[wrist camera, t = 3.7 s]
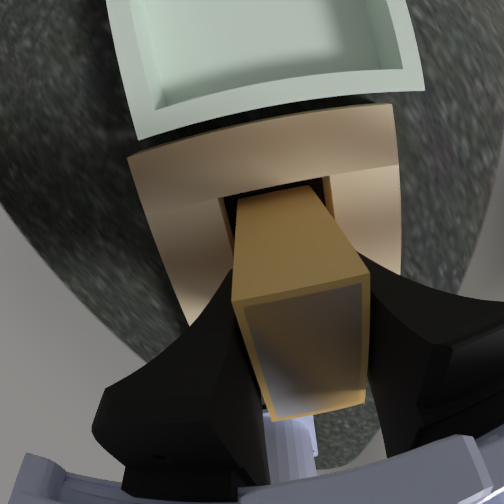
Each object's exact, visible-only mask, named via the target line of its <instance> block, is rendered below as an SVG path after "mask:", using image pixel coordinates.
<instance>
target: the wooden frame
mask: <svg viewBox="0 0 504 504" xmlns="http://www.w3.org/2000/svg"><path fill="white" fill-rule="evenodd" d="M127 160H128V164H129V167H130V170H131V173H132V176H133V180H134V183H135V186H136V189H137V192H138V195H139V198H140V201H141V204H142V207H143V209H144V212H145V215H146V218H147V221H148V224H149V226H150V229H151V232H152V235H153V237H154V240H155V243H156V246H157V248H158V251H159V253H160V256H161V259H162V261H163V264H164V266H165V269H166V271H167V274H168V276H169V279H170V281H171V284H172V286H173V289H174V291H175V294H176V296H177V298H178V301H179V303H180V306H181V308H182V310H183V313H184V315H185V317H186V319H187V322H188V324H189V326H190V325H191V324H192V323H193V322H194V321H195V320H196V319H197V317H198V316H199V315H200V314H201V312H202V311H203V310H204V308H205V307H206V306H207V304H208V303H209V301H210V300H211V298H212V297H213V295H214V294H215V292H216V291H217V289H218V288H219V286H220V285H221V283H222V281H223V280H224V278H225V276H226V275H227V273H228V272H229V270H230V269H233V263H234V247H235V241H234V237H233V233H232V230H231V226H230V222H229V218H228V214H227V211H226V207H225V203H224V199H223V197H225V196H230V195H234V194H239V193H243V192H248V191H253V190H257V189H262V188H267V187H272V186H277V185H282V184H287V183H292V182H297V181H302V180H308V179H313V178H319V177H322V182H323V189H324V196H325V203H326V209H327V210H328V211H329V213H330V214H331V216H332V217H333V219H334V220H335V221H336V223H337V224H338V226H339V227H340V228H341V230H342V231H343V233H344V234H345V236H346V237H347V239H348V240H349V242H350V243H351V245H352V246H353V248H354V249H355V250H356V251H357V252H359V253H361V254H362V255H364V256H366V257H367V258H369V259H371V260H372V261H374V262H376V263H377V264H379V265H381V266H383V267H385V268H387V269H388V270H390V271H392V272H394V273H396V274H398V275H400V265H401V198H400V178H399V163H398V151H397V141H396V132H395V123H394V116H393V108H392V104H385V103H370V104H359V105H349V106H341V107H332V108H325V109H318V110H311V111H304V112H298V113H292V114H286V115H280V116H275V117H270V118H264V119H259V120H255V121H250V122H245V123H241V124H236V125H232V126H227V127H223V128H219V129H215V130H211V131H207V132H203V133H199V134H196V135H192V136H188V137H185V138H181V139H178V140H174V141H171V142H167V143H164V144H161V145H157V146H154V147H151V148H148V149H145V150H142V151H139V152H137V153H135V154H133V155H131V156H129V157H128V158H127Z"/></svg>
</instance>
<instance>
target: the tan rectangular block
mask: <svg viewBox="0 0 504 504" xmlns="http://www.w3.org/2000/svg"><path fill="white" fill-rule="evenodd" d="M231 302H232V305H233V308H234V312H235V315H236V318H237V321H238V324H239V327H240V330H241V333H242V336H243V339H244V342H245V345H246V348H247V351H248V354H249V357H250V360H251V363H252V366H253V369H254V372H255V375H256V378H257V381H258V384H259V386H260V389H261V392H262V395H263V398H264V401H265V404H266V406H267V409H268V412H269V415H270V418H271V420H272V422H275V421H281V420H287V419H293V418H299V417H304V416H309V415H314V414H319V413H324V412H329V411H333V410H337V409H342V408H346V407H350V406H354V405H358V404H362V403H365V393H366V382H367V369H368V353H369V332H370V272H369V270H368V269H367V267H366V266H365V264H364V263H363V261H362V260H361V258H360V256H359V255H358V253H357V252H356V250H355V249H354V248H353V246H352V245H351V243H350V242H349V240H348V239H347V237H346V236H345V234H344V233H343V231H342V230H341V228H340V227H339V226H338V224H337V223H336V221H335V220H334V219H333V217H332V216H331V214H330V213H329V211H328V210H327V209H326V207H325V206H324V205H323V203H322V202H321V200H320V199H319V198H318V196H317V195H316V194H315V192H314V191H313V190H312V188H311V187H310V185H305V186H300V187H295V188H290V189H284V190H279V191H275V192H270V193H265V194H260V195H255V196H251V197H246V198H241V199H238V202H237V217H236V232H235V247H234V263H233V280H232V297H231Z"/></svg>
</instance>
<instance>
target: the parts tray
mask: <svg viewBox="0 0 504 504" xmlns="http://www.w3.org/2000/svg"><path fill="white" fill-rule="evenodd" d="M106 5H107V10H108V16H109V21H110V26H111V31H112V36H113V41H114V46H115V51H116V55H117V60H118V64H119V68H120V73H121V77H122V81H123V85H124V89H125V93H126V97H127V101H128V105H129V109H130V113H131V116H132V120H133V124H134V127H135V131H136V135H137V138H138V141H139V140H142V139H145V138H148V137H151V136H154V135H157V134H161V133H164V132H167V131H170V130H174V129H177V128H181V127H184V126H188V125H191V124H195V123H199V122H202V121H206V120H210V119H214V118H218V117H222V116H226V115H231V114H235V113H240V112H244V111H249V110H254V109H259V108H264V107H269V106H274V105H280V104H286V103H292V102H298V101H304V100H311V99H318V98H326V97H334V96H343V95H353V94H365V93H379V92H397V91H425V86H424V80H423V74H422V68H421V63H420V58H419V53H418V48H417V43H416V39H415V35H414V31H413V27H412V23H411V19H410V15H409V12H408V8H407V5H406V2H405V0H106Z"/></svg>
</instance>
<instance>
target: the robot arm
mask: <svg viewBox="0 0 504 504" xmlns="http://www.w3.org/2000/svg"><path fill="white" fill-rule="evenodd" d="M356 252H357V251H356ZM357 253H358V255H359V256H360V258H361V260H362V261H363V263H364V264H365V266H366V267H367V269H368V270H369V272H370V332H369V353H368V369H367V377H368V380H369V384H370V387H371V391H372V394H373V398H374V401H375V405H376V409H377V413H378V417H379V421H380V426H381V430H382V434H383V439H384V444H385V449H386V454H387V459H384V460H380V461H377V462H374V463H370V464H367V465H363V466H360V467H355V468H351V469H348V470H343V471H339V472H334V473H330V474H324V475H320V476H317V474H316V467H315V461H314V457H315V456H317V455H318V450H317V442H316V435H315V428H314V420H313V415H309V416H304V417H299V418H293V419H287V420H281V421H275V422H272V420H271V418H270V415H269V412H268V409H262V401H261V389H260V386H259V384H258V381H257V378H256V375H255V372H254V369H253V366H252V363H251V360H250V357H249V354H248V351H247V348H246V345H245V342H244V339H243V336H242V333H241V330H240V327H239V324H238V321H237V318H236V315H235V312H234V308H233V305H232V302H231V297H232V280H233V269H230V270H229V272H228V273H227V275H226V276H225V278H224V280H223V281H222V283H221V285H220V286H219V288H218V289H217V291H216V292H215V294H214V295H213V297H212V298H211V300H210V301H209V303H208V304H207V306H206V307H205V308H204V310H203V311H202V312H201V314H200V315H199V316H198V317H197V319H196V320H195V321H194V322H193V323H192V324H191V325H190V327H189V328H188V329H187V330H186V331H185V332H184V333H183V334H182V335H181V336H180V337H179V338H178V339H177V340H175V341H174V342H173V343H172V344H171V345H170V346H169V347H167V348H166V349H165V350H164V351H163V352H162V353H161V354H159V355H158V356H157V357H155V358H154V359H153V360H151V361H150V362H149V363H147V364H146V365H145V366H143V367H142V368H140V369H138V370H137V371H135V372H134V373H132V374H131V375H129V376H127V377H126V378H124V379H122V380H120V381H118V382H117V383H115V384H113V385H111V386H109V387H107V388H106V389H105V391H104V393H103V396H102V399H101V401H100V404H99V407H98V409H97V412H96V415H95V418H94V421H93V424H92V433H93V435H94V437H95V439H96V440H97V442H98V443H99V444H100V445H101V446H102V447H103V448H104V449H105V450H106V451H107V452H109V453H110V454H111V455H112V456H113V457H115V458H116V459H117V460H118V461H119V462H121V463H122V464H123V465H124V466H126V467H125V472H124V476H123V481H122V483H121V482H114V481H108V480H102V479H97V478H92V477H87V476H82V475H77V474H73V473H69V472H66V471H65V470H64V469H63V468H62V467H61V466H59V465H58V464H56V463H55V462H53V461H51V460H49V459H47V458H44V457H40V456H37V455H33V454H30V453H26V454H25V456H24V459H23V462H22V464H21V467H20V470H19V473H18V475H17V478H16V481H15V484H14V487H13V490H12V493H11V497H10V500H9V503H8V504H504V302H499V301H487V300H480V299H474V298H469V297H463V296H459V295H454V294H450V293H447V292H443V291H440V290H436V289H433V288H430V287H427V286H424V285H422V284H419V283H417V282H414V281H412V280H409V279H407V278H405V277H403V276H400V275H398V274H396V273H394V272H392V271H390V270H388V269H387V268H385V267H383V266H381V265H379V264H377V263H376V262H374V261H372V260H371V259H369V258H367V257H366V256H364V255H362V254H361V253H359V252H357Z"/></svg>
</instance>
